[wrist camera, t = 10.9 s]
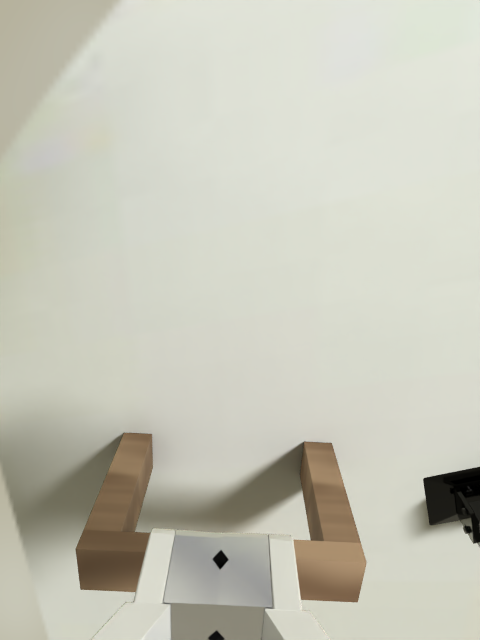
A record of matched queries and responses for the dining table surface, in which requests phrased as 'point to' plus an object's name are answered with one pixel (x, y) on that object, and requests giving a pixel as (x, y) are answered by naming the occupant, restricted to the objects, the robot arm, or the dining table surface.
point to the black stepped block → (455, 500)
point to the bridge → (311, 556)
